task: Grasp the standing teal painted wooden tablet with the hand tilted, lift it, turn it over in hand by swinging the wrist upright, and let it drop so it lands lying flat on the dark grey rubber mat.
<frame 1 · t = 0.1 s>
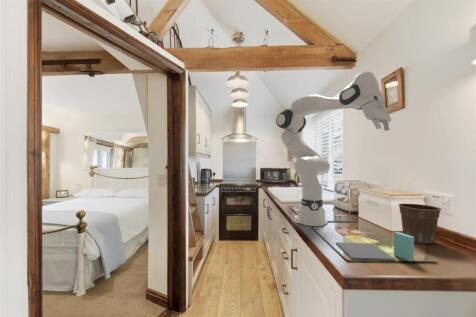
hand: (383, 129, 108), 52 cm above the countertop, tool tilted 20°, fingers open, 8 cm apart
mat: (362, 251, 96), on the countertop
plant pot: (418, 240, 112), on the countertop
teal board: (403, 257, 91), on the countertop
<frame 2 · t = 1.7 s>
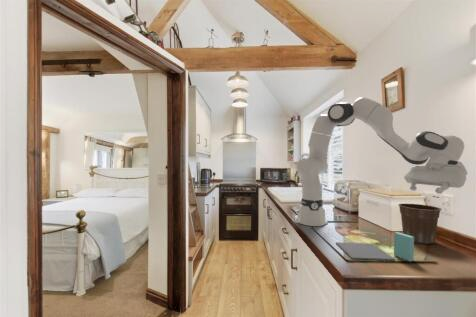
hand: (424, 191, 96), 25 cm above the countertop, tool tilted 45°, fingers open, 8 cm apart
nothing on the countertop moved.
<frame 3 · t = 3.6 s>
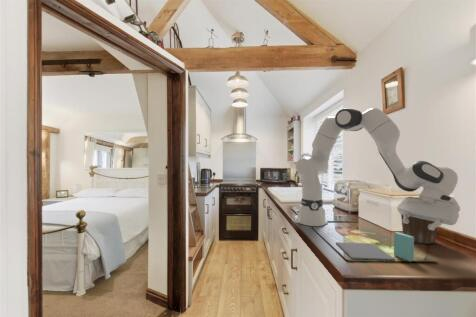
hand: (417, 225, 94), 12 cm above the countertop, tool tilted 45°, fingers open, 8 cm apart
nothing on the countertop moved.
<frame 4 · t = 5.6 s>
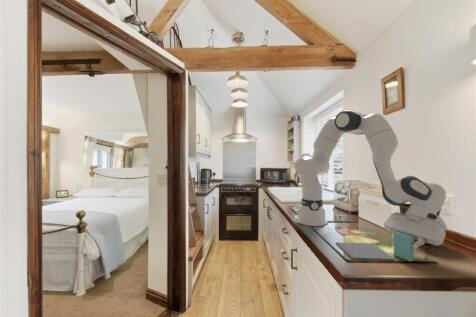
hand: (402, 244, 91), 5 cm above the countertop, tool tilted 45°, fingers closed on teal board, 6 cm apart
teal board: (403, 257, 91), on the countertop, touching gripper
everything else where it was.
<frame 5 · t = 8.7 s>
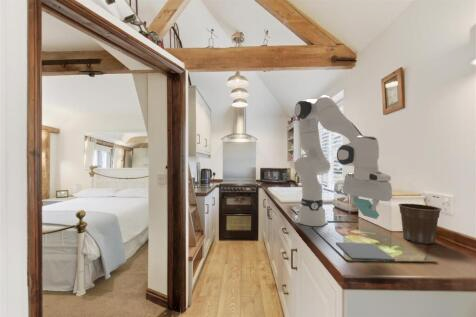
hand: (364, 208, 97), 18 cm above the countertop, tool pointing down, fingers closed on teal board, 6 cm apart
teal board: (371, 215, 99), point 14 cm above the countertop, tilted 45°, touching gripper
everything else where it was.
when the fingers open (6 cm above the countertop, at t = 11.1 s): teal board drops 1 cm and tips over, resting on mat.
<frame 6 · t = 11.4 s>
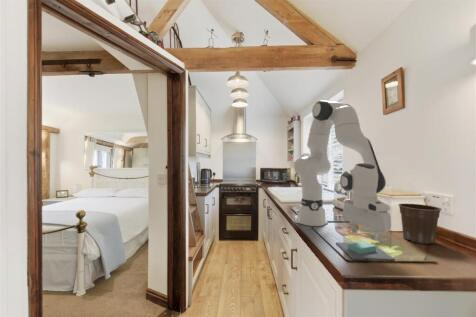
hand: (364, 236, 97), 6 cm above the countertop, tool pointing down, fingers open, 8 cm apart
teal board: (369, 245, 98), point 2 cm above the countertop, tilted 90°, touching mat
everything else where it was.
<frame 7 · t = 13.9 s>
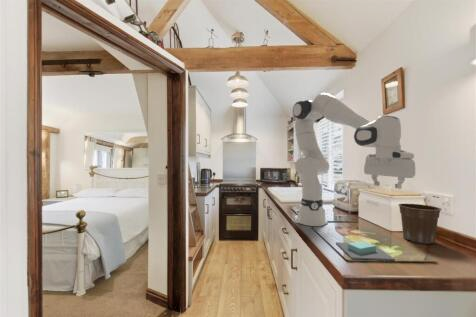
hand: (386, 186, 99), 27 cm above the countertop, tool pointing down, fingers open, 8 cm apart
nothing on the countertop moved.
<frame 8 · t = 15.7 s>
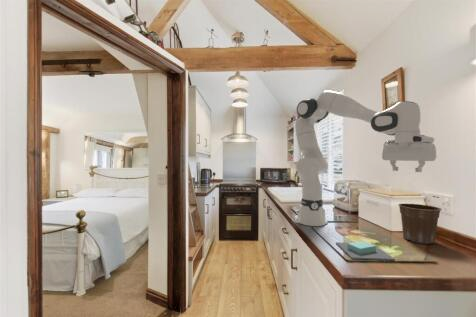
hand: (406, 171, 101), 33 cm above the countertop, tool pointing down, fingers open, 8 cm apart
nothing on the countertop moved.
at the end: teal board tilted 90°; teal board inside the target area on the mat (4.0 cm from its centre), point 1.7 cm above the mat's base; teal board touching mat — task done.
